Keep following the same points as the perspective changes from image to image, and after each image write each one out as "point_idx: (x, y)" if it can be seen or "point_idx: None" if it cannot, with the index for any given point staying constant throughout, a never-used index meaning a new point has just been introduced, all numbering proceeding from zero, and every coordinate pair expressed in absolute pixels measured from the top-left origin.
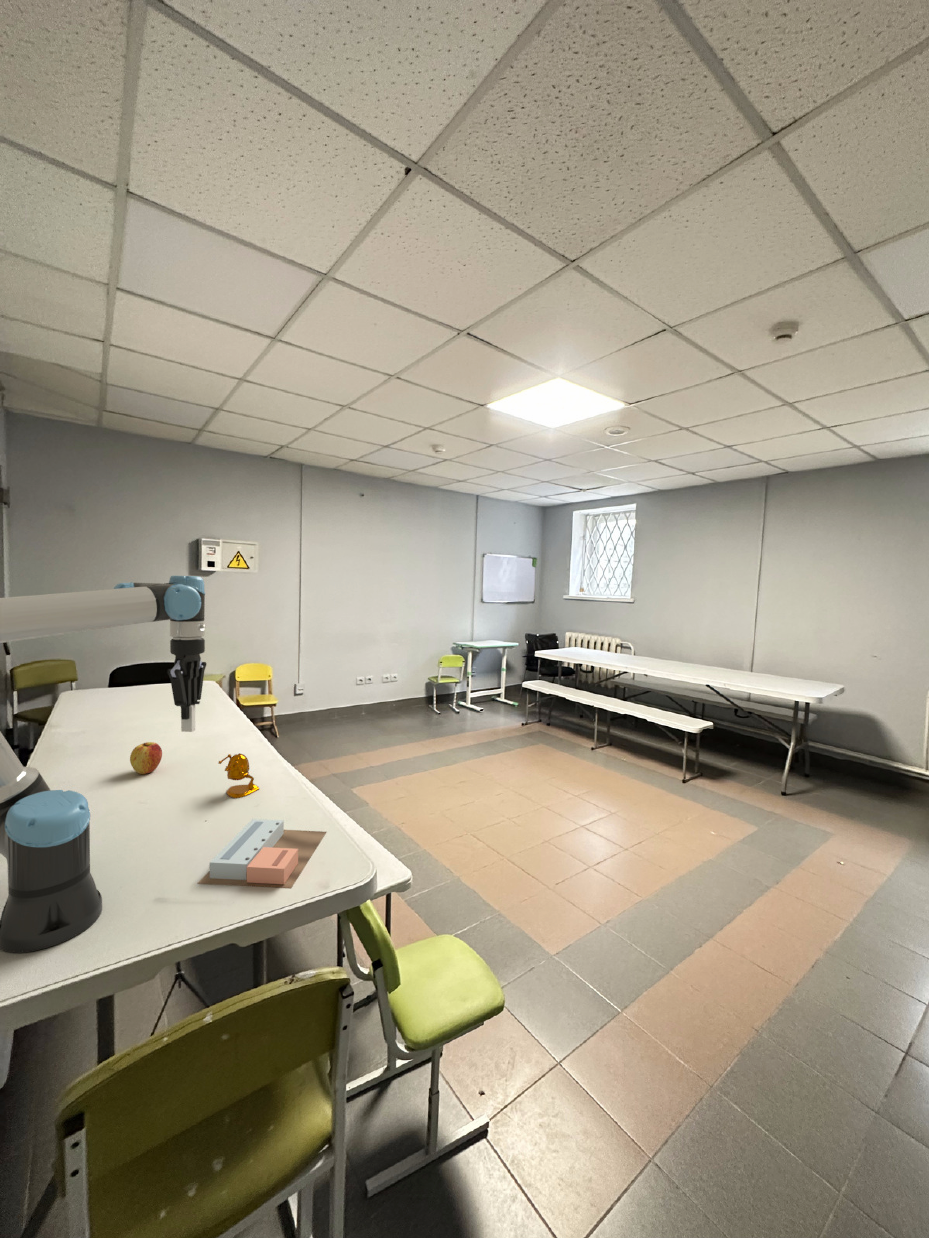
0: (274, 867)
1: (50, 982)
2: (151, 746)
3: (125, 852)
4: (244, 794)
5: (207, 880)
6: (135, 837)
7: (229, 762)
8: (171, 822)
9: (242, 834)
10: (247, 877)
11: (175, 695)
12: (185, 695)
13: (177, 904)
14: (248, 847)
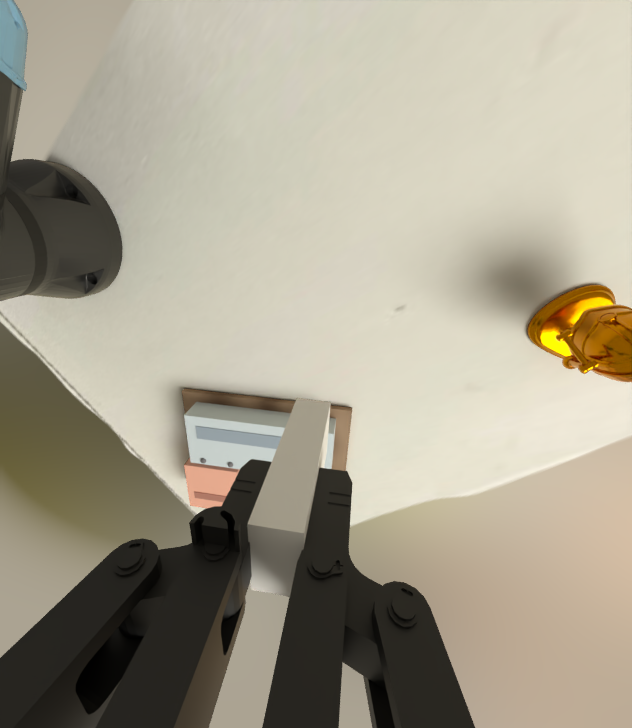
0: (190, 494)
1: (4, 313)
2: None
3: (257, 207)
4: (539, 345)
5: (191, 400)
6: (320, 185)
7: (619, 332)
8: (395, 230)
9: (272, 434)
10: None
11: (4, 682)
12: (91, 725)
13: (146, 379)
14: (234, 453)
